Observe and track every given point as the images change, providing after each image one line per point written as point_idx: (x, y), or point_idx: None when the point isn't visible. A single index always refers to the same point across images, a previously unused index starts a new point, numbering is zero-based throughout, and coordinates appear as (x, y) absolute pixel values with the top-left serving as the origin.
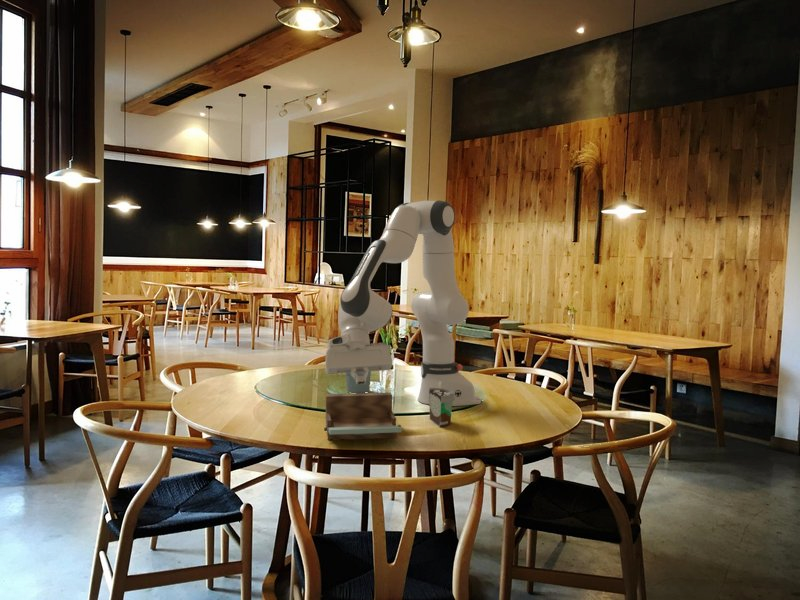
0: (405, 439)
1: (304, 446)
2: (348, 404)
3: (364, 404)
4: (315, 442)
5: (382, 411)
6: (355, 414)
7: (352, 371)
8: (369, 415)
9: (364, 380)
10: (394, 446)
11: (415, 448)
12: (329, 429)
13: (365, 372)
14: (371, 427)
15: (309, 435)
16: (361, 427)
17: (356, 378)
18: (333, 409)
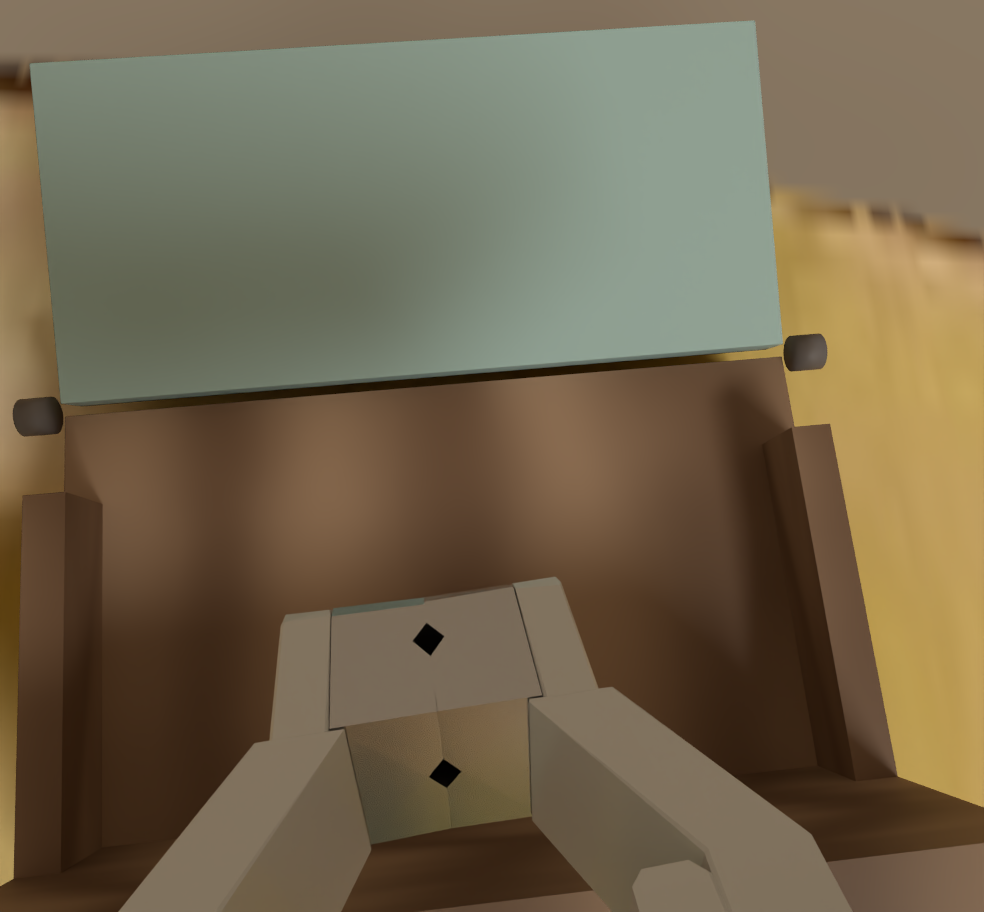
0: (44, 389)
1: (909, 231)
2: None
3: (391, 864)
4: (839, 329)
5: (150, 863)
6: None
7: (779, 840)
8: None
9: (337, 611)
10: None
11: (5, 151)
12: (763, 133)
13: (244, 841)
14: (342, 213)
15: (928, 532)
16: (446, 247)
17: (571, 620)
18: (824, 797)
